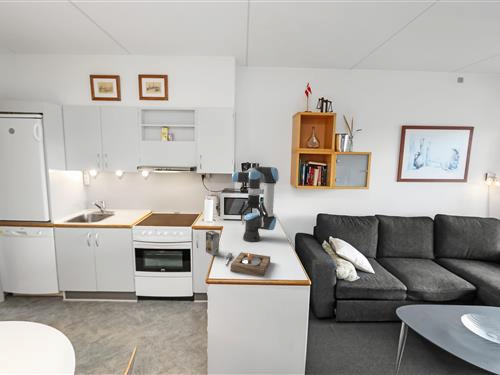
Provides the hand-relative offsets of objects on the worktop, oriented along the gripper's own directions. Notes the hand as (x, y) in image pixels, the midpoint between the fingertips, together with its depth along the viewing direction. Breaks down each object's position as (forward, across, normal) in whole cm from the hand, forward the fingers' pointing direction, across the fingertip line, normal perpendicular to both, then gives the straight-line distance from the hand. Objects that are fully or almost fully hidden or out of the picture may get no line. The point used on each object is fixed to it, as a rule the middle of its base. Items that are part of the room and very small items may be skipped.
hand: (252, 225), depth 173 cm
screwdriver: (+28, -17, +1) cm, 33 cm away
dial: (+26, +1, -3) cm, 26 cm away
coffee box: (+28, -33, +9) cm, 45 cm away
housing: (+28, +1, -3) cm, 28 cm away
